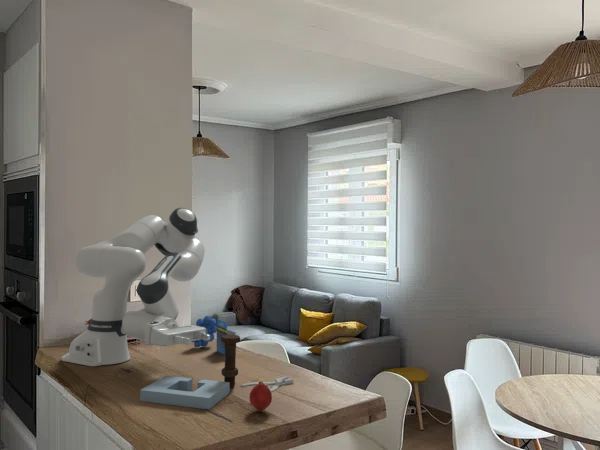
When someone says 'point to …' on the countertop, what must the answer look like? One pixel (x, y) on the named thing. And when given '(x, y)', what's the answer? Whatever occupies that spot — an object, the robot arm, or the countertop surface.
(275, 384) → the pliers
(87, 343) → the robot arm
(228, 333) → the label tape box
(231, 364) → the bolt
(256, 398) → the onion
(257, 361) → the countertop surface
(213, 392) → the pocket frame
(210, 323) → the grapes
